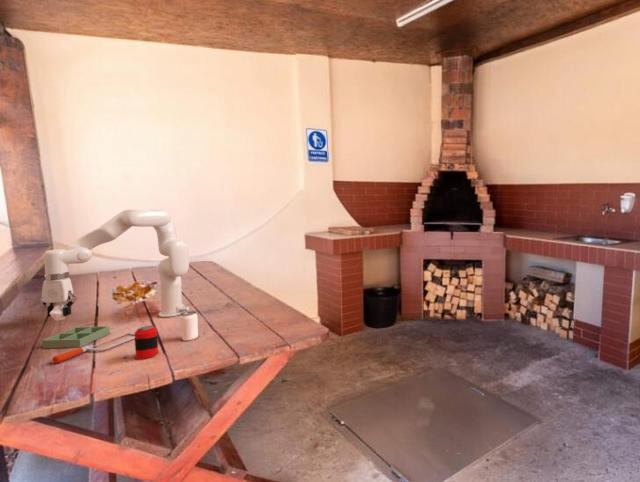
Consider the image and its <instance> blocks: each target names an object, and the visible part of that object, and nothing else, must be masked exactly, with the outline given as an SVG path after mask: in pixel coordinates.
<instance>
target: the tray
mask: <svg viewBox="0 0 640 482" xmlns="http://www.w3.org/2000/svg"><path fill="white" fill-rule="evenodd" d="M110 329H111V328H110V325H105V326H103V325H102V326H101V325H100V326H74V327H72V328H69V329H66V330H64V331H62V332H59V333H57V334H54V335H52V336H49V337H47V338H45V339H42V340H41V345H42V349H62V348H63V349H65V348H67V349H68V348H82V347H84V346H87V345H89V344H90V343H92V342H94V341H97V340H99V339H101V338H103V337H106V336H107V335H109V334H110V333H111V331H110Z"/></svg>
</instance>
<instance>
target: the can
mask: <svg viewBox="0 0 640 482" xmlns="http://www.w3.org/2000/svg"><path fill="white" fill-rule="evenodd" d="M198 320H199V319H198V314H197V311H195V310H194V311H193V310H192V311H186V312H185V313H183V314H181V317H180V324H181V325H180V327H181V340H182V341H184V342H187V341H188V342H189V341H193V340H195V339H198V337H199V321H198Z"/></svg>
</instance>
